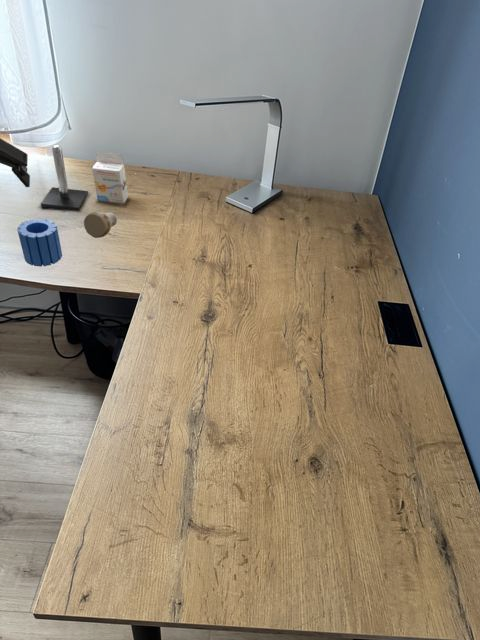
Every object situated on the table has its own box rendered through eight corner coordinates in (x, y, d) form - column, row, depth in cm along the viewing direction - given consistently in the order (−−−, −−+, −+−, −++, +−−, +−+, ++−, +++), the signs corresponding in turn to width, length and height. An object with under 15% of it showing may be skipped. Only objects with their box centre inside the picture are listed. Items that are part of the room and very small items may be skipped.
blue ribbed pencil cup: (20, 269, 128) (11, 235, 121) (32, 250, 134) (25, 217, 128) (56, 273, 129) (50, 239, 122) (67, 254, 135) (61, 220, 128)
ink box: (97, 203, 157) (89, 157, 146) (102, 196, 160) (94, 150, 150) (124, 206, 157) (117, 161, 146) (129, 198, 160) (122, 153, 150)
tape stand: (41, 208, 151) (30, 150, 139) (53, 191, 159) (42, 136, 147) (78, 212, 152) (70, 155, 140) (88, 195, 160) (81, 140, 148)
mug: (125, 224, 149) (118, 207, 139) (106, 250, 146) (98, 234, 137) (103, 212, 149) (95, 194, 140) (84, 238, 147) (75, 221, 137)
